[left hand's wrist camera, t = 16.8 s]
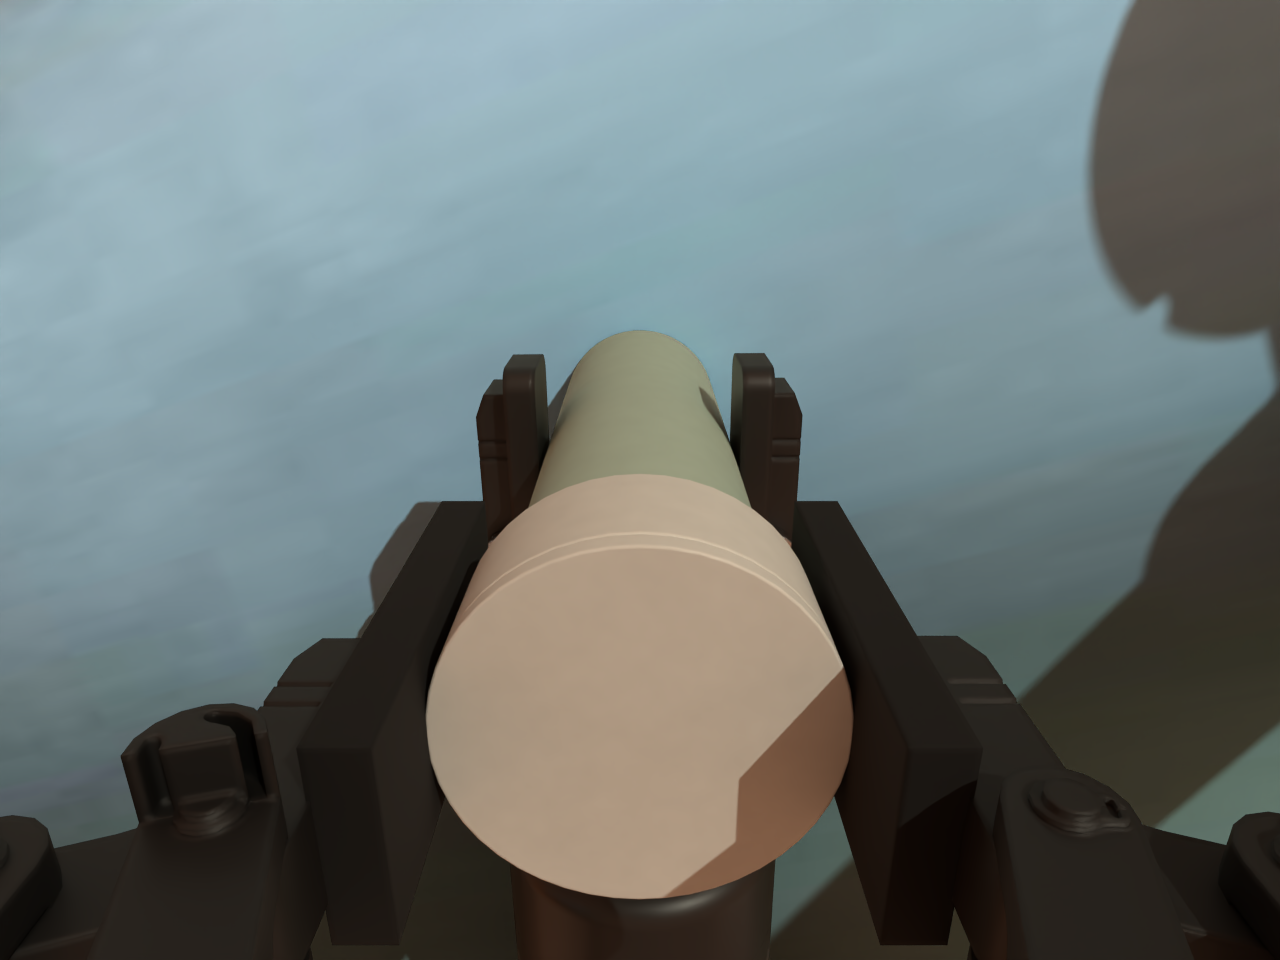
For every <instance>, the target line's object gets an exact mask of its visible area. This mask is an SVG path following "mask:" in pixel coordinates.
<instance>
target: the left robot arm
mask: <svg viewBox="0 0 1280 960" xmlns="http://www.w3.org/2000/svg"><path fill="white" fill-rule="evenodd" d="M487 549H488V535H487V521H486V507H485V501H442V502H441V504H440V506H439V507H438V509H437V511H436V512H435V514H434V516H433V517H432V519H431V521H430V523H429V524H428V526H427V528H426V529H425V531H424V533H423V534H422V536H421V538H420V539H419V541H418V543H417V544H416V546H415V548H414V550H413V551H412V553H411V555H410V556H409V558H408V560H407V561H406V563H405V565H404V566H403V568H402V570H401V572H400V573H399V575H398V577H397V578H396V580H395V582H394V583H393V585H392V587H391V588H390V590H389V592H388V594H387V595H386V597H385V599H384V600H383V602H382V604H381V605H380V607H379V609H378V610H377V612H376V614H375V616H374V617H373V619H372V621H371V622H370V624H369V626H368V627H367V629H366V631H365V632H364V634H363V636H362V638H323V639H321V640H320V641H318V642H317V643H315V644H314V645H313V646H311V647H310V648H308V649H307V650H306V651H304V652H303V653H301V654H300V655H298V656H297V657H296V658H294V659H293V661H292V662H291V664H290V665H289V666H288V668H287V669H286V671H285V672H284V674H283V675H282V676H281V678H280V679H279V681H278V682H277V683H278V684H277V687H274V688H273V689H272V691H271V692H270V693H269V695H268V696H267V698H266V699H265V701H264V706H263V707H260V708H259V709H258V711H257V710H255V709H254V708H252V707H248V706H243V705H239V704H235V703H230V704H209V705H205V706H201V707H197V708H193V709H189V710H185V711H181V712H179V713H177V714H175V715H172V716H170V717H168V718H166V719H163V720H161V721H159V722H157V723H155V724H153V725H152V726H151V727H149V728H148V729H147V730H145V731H144V732H142V733H141V734H140V735H138V736H137V737H135V738H134V739H133V740H132V742H131V743H130V744H129V746H128V747H127V748H126V750H125V751H124V752H123V753H122V755H121V760H122V763H123V767H124V770H125V774H126V778H127V781H128V785H129V788H130V792H131V796H132V799H133V803H134V806H135V810H136V814H137V817H138V821H139V824H138V827H137V828H136V829H133V830H129V831H126V832H123V833H119V834H116V835H111V836H107V837H102V838H98V839H94V840H89V841H85V842H80V843H76V844H72V845H67V846H63V847H58V848H54V847H53V844H52V841H51V838H50V835H49V832H48V829H47V828H46V827H45V826H44V825H43V824H41V823H40V822H39V821H38V820H36V819H35V818H30V817H22V816H15V815H11V816H4V817H0V960H313V957H312V952H311V947H310V945H311V943H312V941H313V938H314V936H315V933H316V931H317V929H318V926H319V924H320V922H321V919H322V917H323V915H324V912H325V910H326V914H327V920H328V925H329V931H330V936H331V941H332V945H399V944H400V941H401V937H402V934H403V931H404V928H405V924H406V921H407V918H408V915H409V912H410V908H411V905H412V902H413V899H414V895H415V892H416V889H417V886H418V882H419V879H420V876H421V873H422V869H423V866H424V863H425V860H426V857H427V853H428V850H429V847H430V844H431V840H432V837H433V834H434V831H435V827H436V824H437V821H438V818H439V814H440V811H441V808H442V805H443V801H444V798H445V795H444V793H443V791H442V789H441V787H440V785H439V783H438V780H437V778H436V775H435V772H434V769H433V766H432V764H431V761H430V754H429V746H428V737H427V727H426V716H425V713H426V704H427V696H428V689H429V686H430V683H431V679H432V676H433V672H434V669H435V666H436V664H437V661H438V659H439V656H440V654H441V652H442V649H443V647H444V644H445V642H446V639H447V637H448V635H449V632H450V630H451V627H452V625H453V622H454V620H455V617H456V615H457V613H458V610H459V608H460V605H461V603H462V600H463V598H464V596H465V593H466V591H467V588H468V586H469V583H470V581H471V579H472V576H473V574H474V572H475V570H476V568H477V566H478V564H479V562H480V560H481V558H482V557H483V555H484V554H485V552H486V551H487ZM791 549H792V550H793V552H794V553H795V555H796V556H797V558H798V559H799V561H800V563H801V565H802V567H803V569H804V572H805V574H806V576H807V578H808V580H809V583H810V585H811V588H812V590H813V592H814V595H815V597H816V600H817V602H818V605H819V607H820V610H821V612H822V615H823V617H824V619H825V622H826V624H827V627H828V629H829V632H830V634H831V637H832V639H833V641H834V644H835V646H836V649H837V651H838V654H839V656H840V659H841V661H842V663H843V666H844V669H845V672H846V675H847V679H848V682H849V686H850V689H851V695H852V703H853V711H854V721H853V732H852V741H851V750H850V756H849V761H848V764H847V767H846V770H845V773H844V775H843V778H842V781H841V784H840V786H839V787H838V789H837V791H836V793H835V795H834V797H835V800H836V803H837V806H838V809H839V813H840V816H841V819H842V822H843V826H844V829H845V832H846V835H847V839H848V842H849V845H850V848H851V852H852V855H853V858H854V861H855V865H856V868H857V871H858V874H859V877H860V881H861V884H862V887H863V890H864V894H865V897H866V900H867V903H868V907H869V910H870V913H871V916H872V920H873V923H874V926H875V929H876V932H877V936H878V939H879V942H880V945H947V944H948V939H949V933H950V928H951V922H952V917H953V911H954V907H955V909H956V912H957V914H958V916H959V919H960V921H961V923H962V926H963V928H964V931H965V933H966V935H967V938H968V940H969V942H970V947H969V952H968V957H967V960H1280V813H1273V812H1262V813H1255V814H1247V815H1245V816H1244V817H1242V818H1241V819H1240V820H1238V821H1237V822H1236V823H1235V824H1233V827H1232V830H1231V833H1230V836H1229V839H1228V842H1227V845H1223V844H1219V843H1215V842H1210V841H1206V840H1201V839H1197V838H1192V837H1188V836H1184V835H1179V834H1175V833H1170V832H1166V831H1162V830H1159V829H1155V828H1152V827H1149V826H1145V825H1142V823H1141V821H1140V819H1139V818H1138V816H1137V815H1136V813H1135V812H1134V810H1133V809H1132V807H1131V806H1130V804H1129V803H1128V802H1127V801H1125V800H1124V799H1123V798H1122V797H1121V796H1119V795H1118V794H1117V793H1116V792H1114V791H1113V790H1112V789H1111V788H1110V787H1108V786H1106V785H1104V784H1102V783H1100V782H1098V781H1096V780H1094V779H1093V778H1091V777H1089V776H1087V775H1085V774H1082V773H1079V772H1075V771H1071V770H1068V769H1066V768H1065V767H1064V766H1063V764H1062V763H1061V761H1060V760H1059V759H1058V757H1057V756H1056V754H1055V753H1054V751H1053V750H1052V749H1051V747H1050V746H1049V744H1048V743H1047V742H1046V740H1045V739H1044V737H1043V736H1042V735H1041V733H1040V732H1039V730H1038V729H1037V727H1036V726H1035V725H1034V723H1033V722H1032V720H1031V719H1030V718H1029V716H1028V715H1027V713H1026V712H1025V711H1024V709H1023V708H1022V706H1021V705H1020V704H1017V703H1016V698H1015V696H1014V695H1013V694H1012V692H1011V691H1010V689H1009V688H1008V686H1007V685H1006V684H1003V682H1002V678H1001V677H1000V675H999V674H998V672H997V671H996V670H995V668H994V667H993V665H992V664H991V662H990V661H989V660H988V658H987V657H986V656H985V655H984V654H982V653H981V652H979V651H978V650H977V649H975V648H974V647H972V646H971V645H970V644H968V643H967V642H965V641H964V640H962V639H961V638H960V637H958V636H917V635H916V633H915V632H914V630H913V628H912V627H911V625H910V623H909V621H908V620H907V618H906V616H905V615H904V613H903V611H902V610H901V608H900V606H899V605H898V603H897V601H896V599H895V598H894V596H893V594H892V593H891V591H890V589H889V588H888V586H887V584H886V583H885V581H884V579H883V577H882V576H881V574H880V572H879V571H878V569H877V567H876V566H875V564H874V562H873V561H872V559H871V557H870V555H869V554H868V552H867V550H866V549H865V547H864V545H863V544H862V542H861V540H860V539H859V537H858V535H857V533H856V532H855V530H854V528H853V527H852V525H851V523H850V522H849V520H848V518H847V517H846V515H845V513H844V512H843V510H842V508H841V506H840V505H839V503H838V501H794V514H793V528H792V542H791Z"/></svg>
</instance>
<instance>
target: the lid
mask: <svg viewBox="0 0 1280 960" xmlns="http://www.w3.org/2000/svg"><path fill="white" fill-rule="evenodd" d="M425 716H426V727H427V737H428V746H429V754H430V761H431V764H432V766H433V769H434V772H435V775H436V778H437V780H438V783H439V785H440V787H441V789H442V791H443V793H444V795H445V796H446V798H447V800H448V802H449V804H450V805H451V807H452V808H453V809H454V811H455V812H456V813H457V815H458V816H459V818H460V819H461V820H462V822H463V823H464V824H465V825H466V826H467V827H468V828H469V829H470V830H471V831H472V832H473V834H474V835H475V836H476V837H477V838H478V839H479V840H480V841H482V842H483V843H484V844H485V845H486V846H488V847H489V848H490V849H491V850H492V851H494V852H495V853H496V854H497V855H499V856H500V857H502V858H503V859H505V860H506V861H508V862H510V863H511V864H513V865H514V866H516V867H517V868H519V869H521V870H523V871H525V872H527V873H529V874H531V875H533V876H535V877H537V878H539V879H541V880H544V881H547V882H550V883H552V884H555V885H558V886H560V887H563V888H567V889H570V890H574V891H578V892H582V893H586V894H591V895H598V896H604V897H611V898H625V899H655V898H668V897H675V896H682V895H689V894H693V893H697V892H701V891H705V890H709V889H713V888H716V887H719V886H722V885H724V884H727V883H730V882H732V881H735V880H738V879H740V878H742V877H744V876H746V875H748V874H750V873H752V872H754V871H756V870H758V869H760V868H762V867H763V866H765V865H767V864H768V863H770V862H771V861H773V860H774V859H776V858H777V857H779V856H781V855H782V854H783V853H784V852H786V851H787V850H788V849H789V848H790V847H792V846H793V845H794V844H795V843H797V842H798V841H799V840H800V839H801V838H802V837H803V836H804V835H805V834H806V833H807V832H808V831H809V830H810V829H811V827H812V826H813V825H814V824H815V823H816V822H817V821H818V819H819V818H820V817H821V815H822V814H823V812H824V811H825V810H826V808H827V807H828V806H829V804H830V802H831V800H832V799H833V797H834V795H835V793H836V791H837V789H838V787H839V786H840V784H841V781H842V778H843V775H844V773H845V770H846V767H847V764H848V761H849V756H850V750H851V741H852V732H853V721H854V711H853V703H852V695H851V689H850V686H849V682H848V679H847V675H846V672H845V669H844V666H843V663H842V661H841V659H840V656H839V654H838V651H837V649H836V646H835V644H834V641H833V639H832V637H831V634H830V632H829V629H828V627H827V624H826V622H825V619H824V617H823V615H822V612H821V610H820V607H819V605H818V602H817V600H816V597H815V595H814V592H813V590H812V588H811V585H810V583H809V580H808V578H807V576H806V574H805V572H804V569H803V567H802V565H801V563H800V561H799V559H798V558H797V556H796V555H795V553H794V552H793V550H792V549H791V547H790V546H789V544H788V543H787V541H786V540H785V539H784V538H783V537H782V536H781V535H780V534H779V532H778V531H777V530H776V529H775V528H774V527H773V526H772V525H771V524H770V523H769V522H768V521H766V520H765V519H764V518H763V517H762V516H761V515H759V514H758V513H757V512H756V511H755V510H753V509H752V508H750V507H748V506H747V505H745V504H744V503H742V502H741V501H739V500H737V499H736V498H734V497H732V496H730V495H728V494H726V493H723V492H721V491H719V490H717V489H715V488H713V487H710V486H707V485H703V484H700V483H697V482H694V481H691V480H687V479H682V478H676V477H671V476H666V475H651V474H628V475H614V476H608V477H603V478H598V479H592V480H588V481H585V482H582V483H579V484H576V485H573V486H569V487H567V488H564V489H562V490H560V491H558V492H556V493H554V494H551V495H549V496H547V497H545V498H543V499H542V500H540V501H539V502H537V503H536V504H534V505H532V506H531V507H529V508H528V509H526V510H525V511H524V512H522V513H521V514H520V515H519V516H518V517H516V518H515V519H514V520H513V521H512V522H510V523H509V524H508V525H507V526H506V527H505V528H504V529H503V531H502V532H501V533H500V534H499V535H498V536H497V537H496V538H495V539H494V541H493V542H492V543H491V545H490V546H489V548H488V549H487V551H486V552H485V554H484V555H483V557H482V558H481V560H480V562H479V564H478V566H477V568H476V570H475V572H474V574H473V576H472V579H471V581H470V583H469V586H468V588H467V591H466V593H465V596H464V598H463V600H462V603H461V605H460V608H459V610H458V613H457V615H456V617H455V620H454V622H453V625H452V627H451V630H450V632H449V635H448V637H447V639H446V642H445V644H444V647H443V649H442V652H441V654H440V656H439V659H438V661H437V664H436V666H435V669H434V672H433V676H432V679H431V683H430V686H429V689H428V696H427V704H426V713H425Z"/></svg>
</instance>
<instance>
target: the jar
mask: <svg viewBox="0 0 1280 960" xmlns="http://www.w3.org/2000/svg"><path fill="white" fill-rule="evenodd" d="M628 474H651V475H666V476H671V477H676V478H682V479H687V480H691V481H694V482H697V483H700V484H703V485H707V486H710V487H713V488H715V489H717V490H719V491H721V492H723V493H726V494H728V495H730V496H732V497H734V498H736V499H737V500H739V501H741V502H742V503H744V504H745V505H747V506H748V507H750V508H751V505H750V502H749V499H748V496H747V493H746V490H745V487H744V484H743V481H742V478H741V475H740V472H739V469H738V466H737V463H736V460H735V457H734V454H733V450H732V447H731V444H730V441H729V438H728V435H727V432H726V429H725V426H724V423H723V420H722V417H721V414H720V411H719V408H718V405H717V402H716V398H715V395H714V392H713V389H712V386H711V383H710V380H709V378H708V375H707V373H706V370H705V369H704V367H703V365H702V363H701V362H700V361H699V359H698V358H697V357H696V355H695V354H694V353H693V352H692V351H691V350H690V349H689V348H687V347H686V346H685V345H683V344H682V343H681V342H679V341H677V340H675V339H674V338H672V337H669V336H667V335H664V334H661V333H657V332H652V331H628V332H623V333H619V334H615V335H613V336H611V337H608V338H606V339H604V340H603V341H601V342H599V343H598V344H596V345H595V346H594V347H593V348H591V349H590V350H589V351H588V352H587V353H586V354H585V355H584V356H583V358H582V359H581V360H580V362H579V363H578V365H577V366H576V368H575V370H574V372H573V375H572V377H571V380H570V383H569V386H568V389H567V392H566V395H565V398H564V401H563V404H562V407H561V410H560V413H559V416H558V419H557V422H556V425H555V428H554V431H553V434H552V437H551V440H550V443H549V446H548V449H547V452H546V456H545V459H544V462H543V465H542V468H541V471H540V474H539V477H538V480H537V483H536V486H535V489H534V492H533V495H532V498H531V501H530V504H529V507H531V506H532V505H534V504H536V503H537V502H539V501H540V500H542V499H543V498H545V497H547V496H549V495H551V494H554V493H556V492H558V491H560V490H562V489H564V488H567V487H569V486H573V485H576V484H579V483H582V482H585V481H588V480H592V479H598V478H603V477H608V476H614V475H628ZM529 507H528V508H529Z"/></svg>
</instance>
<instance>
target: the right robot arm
mask: <svg viewBox="0 0 1280 960" xmlns="http://www.w3.org/2000/svg"><path fill="white" fill-rule="evenodd" d="M476 422H477V434H478V440H479V444H478V445H479V457H480V469H481V481H482V493H483V501H485V507H486V521H487V535H488V548H489V546H490V545H491V543H492V542H493V541H494V539H495V538H496V537H497V536H498V535H499V534H500V533H501V532H502V531H503V529H504V528H505V527H506V526H507V525H508V524H509V523H510V522H512V521H513V520H514V519H515V518H516V517H518V516H519V515H520V514H521V513H522V512H524V511H525V510H526V509H528V507H529V504H530V501H531V498H532V495H533V492H534V489H535V486H536V483H537V480H538V477H539V474H540V471H541V468H542V465H543V462H544V459H545V456H546V452H547V449H548V446H549V425H548V405H547V386H546V368H545V359H544V355H543V354H524V355H513V356H512V357H511V359H510V360H509V362H508V363H507V365H506V366H505V368H504V372H503V380H493V382H492V383H491V385H490V386H489V388H488V389H487V390H486V392H485V393H484V395H483V398H482V401H481V404H480V407H479V410H478V413H477V416H476ZM801 428H802V413H801V410H800V407H799V404H798V401H797V398H796V395H795V393H794V391H793V390H792V388H791V387H790V386H789V384H788V383H787V381H786V380H785V378H775V374H774V368H773V365H772V364H771V362H770V361H769V359H768V358H767V356H766V355H765V353H735V354H734V357H733V366H732V395H731V425H730V444H731V447H732V450H733V454H734V457H735V460H736V463H737V466H738V469H739V472H740V475H741V478H742V481H743V484H744V487H745V490H746V493H747V496H748V499H749V502H750V505H751V508H752V509H753V510H755V511H756V512H757V513H758V514H759V515H761V516H762V517H763V518H764V519H765V520H766V521H768V522H769V523H770V524H771V525H772V526H773V527H774V528H775V529H776V530H777V531H778V532H779V534H780V535H781V536H782V537H783V538H784V539H785V540H786V541H787V543H788V544H789V546H790V547H791V542H792V528H793V514H794V501H797V489H798V474H799V455H800V443H801V442H800V438H801ZM510 870H511V882H512V893H513V905H514V917H515V929H516V940H517V952H518V960H769V950H770V935H771V920H772V903H773V887H774V872H775V859H774V860H773V861H771V862H770V863H768V864H767V865H765V866H763V867H762V868H760V869H758V870H756V871H754V872H752V873H750V874H748V875H746V876H744V877H742V878H740V879H738V880H735V881H732V882H730V883H727V884H724V885H722V886H719V887H716V888H713V889H709V890H705V891H701V892H697V893H693V894H689V895H682V896H675V897H668V898H655V899H625V898H611V897H604V896H598V895H591V894H586V893H582V892H578V891H574V890H570V889H567V888H563V887H560V886H558V885H555V884H552V883H550V882H547V881H544V880H541V879H539V878H537V877H535V876H533V875H531V874H529V873H527V872H525V871H523V870H521V869H519V868H517V867H516V866H514V865H513V864H511V863H510Z"/></svg>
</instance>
